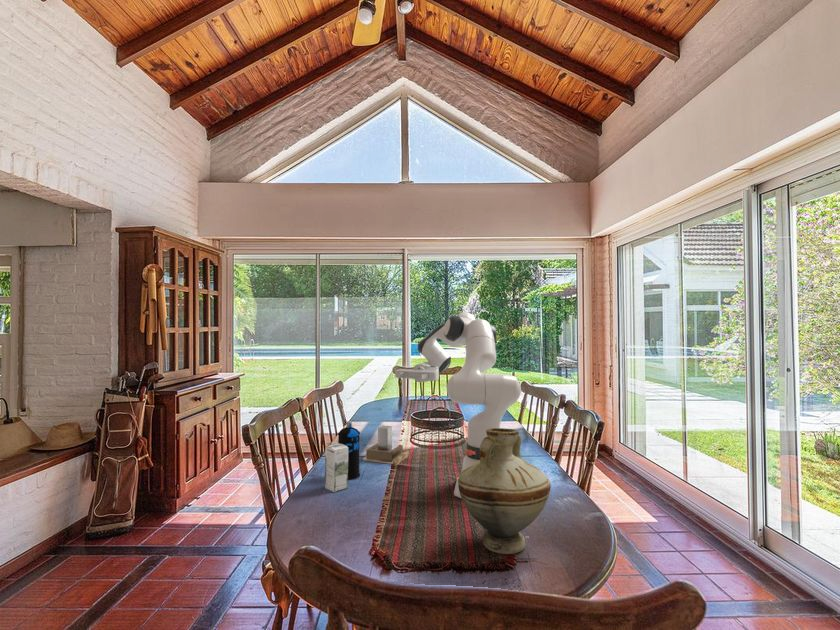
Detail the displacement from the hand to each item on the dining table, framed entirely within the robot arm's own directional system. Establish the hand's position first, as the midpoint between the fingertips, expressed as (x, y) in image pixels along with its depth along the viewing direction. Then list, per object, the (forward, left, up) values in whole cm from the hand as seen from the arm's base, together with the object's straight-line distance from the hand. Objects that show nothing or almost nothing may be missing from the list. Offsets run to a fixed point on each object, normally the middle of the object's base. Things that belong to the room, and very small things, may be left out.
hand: (410, 376), depth 203 cm
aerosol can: (-41, +8, -32) cm, 53 cm away
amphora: (-70, -54, -32) cm, 94 cm away
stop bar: (-16, +5, -31) cm, 36 cm away
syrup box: (-53, +6, -32) cm, 62 cm away
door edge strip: (-17, -3, -32) cm, 36 cm away
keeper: (-16, +5, -32) cm, 36 cm away
